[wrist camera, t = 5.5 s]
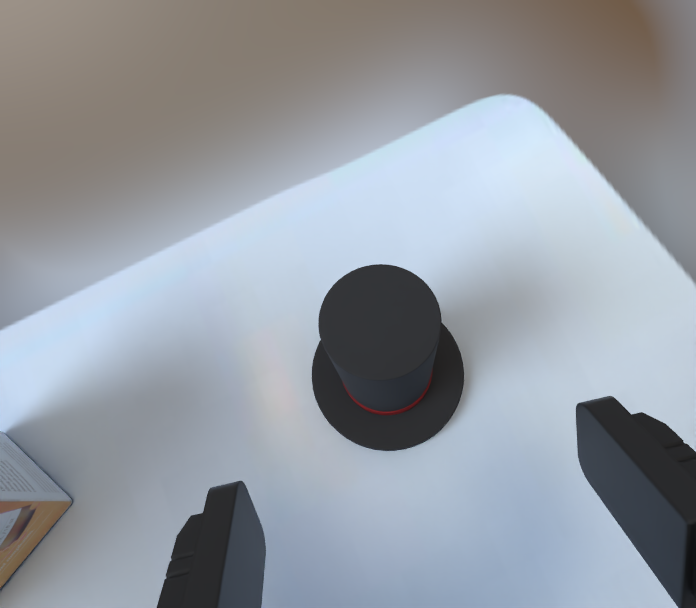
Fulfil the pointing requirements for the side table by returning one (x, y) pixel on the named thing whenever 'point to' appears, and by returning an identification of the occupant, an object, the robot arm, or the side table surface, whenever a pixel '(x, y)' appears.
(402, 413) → the hat
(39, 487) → the small box
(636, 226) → the side table surface
